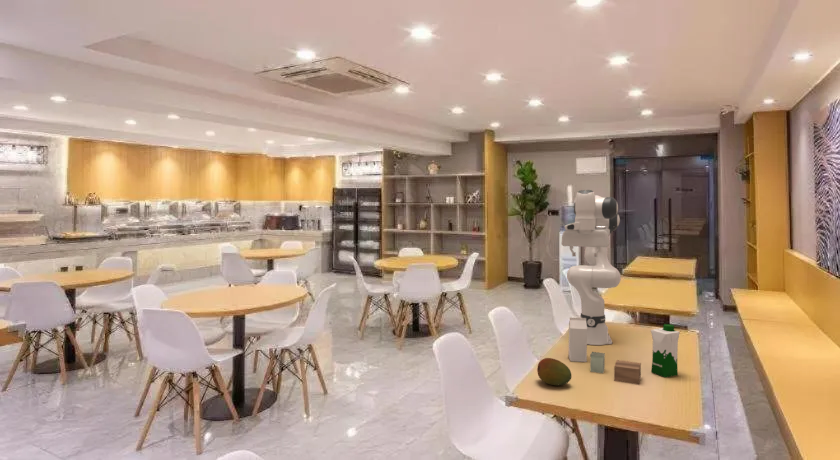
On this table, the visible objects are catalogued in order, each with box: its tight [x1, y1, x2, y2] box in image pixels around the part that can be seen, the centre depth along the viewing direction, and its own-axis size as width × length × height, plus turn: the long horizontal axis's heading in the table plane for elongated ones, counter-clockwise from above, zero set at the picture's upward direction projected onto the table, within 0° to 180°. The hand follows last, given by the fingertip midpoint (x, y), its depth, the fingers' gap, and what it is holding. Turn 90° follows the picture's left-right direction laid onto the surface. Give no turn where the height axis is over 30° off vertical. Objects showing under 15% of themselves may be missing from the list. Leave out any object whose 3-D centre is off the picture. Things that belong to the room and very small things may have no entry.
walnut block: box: [613, 359, 642, 385], centre depth 194 cm, size 9×9×6 cm
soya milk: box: [650, 323, 681, 378], centre depth 199 cm, size 9×9×20 cm
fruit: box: [536, 357, 572, 386], centre depth 188 cm, size 12×12×10 cm
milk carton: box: [568, 317, 588, 363], centre depth 219 cm, size 7×7×19 cm
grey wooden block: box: [589, 351, 606, 374], centre depth 204 cm, size 5×5×7 cm
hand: (584, 256), depth 218 cm, fingers open, 8 cm apart
